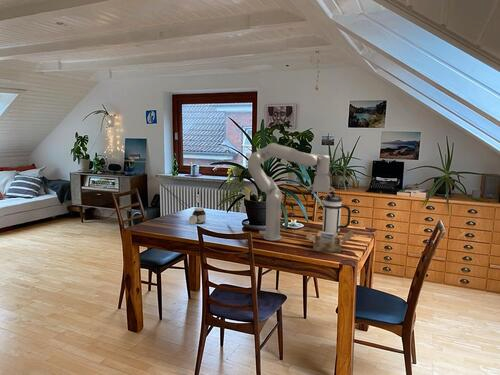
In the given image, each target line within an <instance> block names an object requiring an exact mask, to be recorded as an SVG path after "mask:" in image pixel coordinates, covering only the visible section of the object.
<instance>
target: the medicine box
mask: <svg viewBox="0 0 500 375" xmlns="http://www.w3.org/2000/svg"><path fill="white" fill-rule="evenodd" d="M334 235H335V233H328V232H322V233H321V240H320V242H322V243H334Z"/></svg>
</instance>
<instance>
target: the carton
mask: <svg viewBox="0 0 500 375" xmlns="http://www.w3.org/2000/svg"><path fill="white" fill-rule="evenodd" d="M322 232H324V231H323V230H317V234H316V235H313V234H311V233H308V232H306V238H305V239H306V240H308V241H311V242H312V243H313V246H312V251H317V252H319V251H320V252H329V253H339V254H342V245H343V243H342V237H339V236H338V233H339V232H338V233H337V232H328V233H335V235H334V243H322V242H320V240H321V233H322Z"/></svg>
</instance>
